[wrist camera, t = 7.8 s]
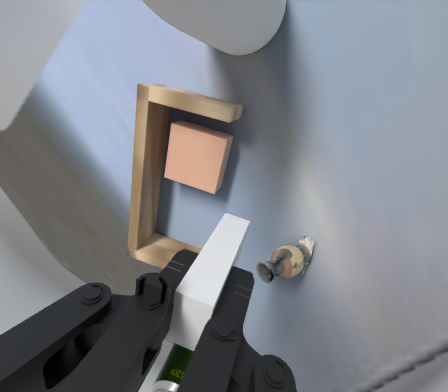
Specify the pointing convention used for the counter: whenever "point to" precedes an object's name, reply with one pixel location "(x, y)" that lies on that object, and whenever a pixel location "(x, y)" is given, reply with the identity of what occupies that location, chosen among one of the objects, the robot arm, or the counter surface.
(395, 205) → the counter surface
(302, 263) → the vase
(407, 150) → the counter surface
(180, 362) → the beer can
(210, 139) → the tile
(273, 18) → the milk bottle
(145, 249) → the frame
